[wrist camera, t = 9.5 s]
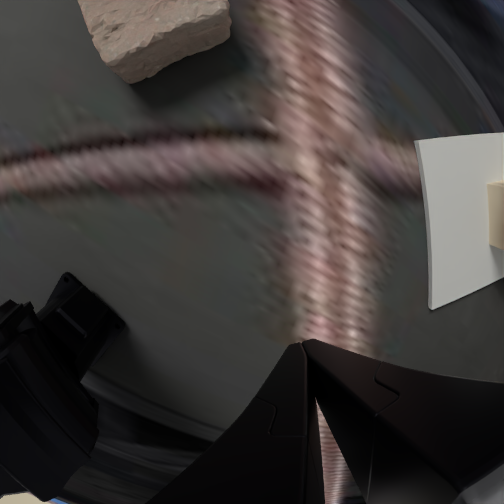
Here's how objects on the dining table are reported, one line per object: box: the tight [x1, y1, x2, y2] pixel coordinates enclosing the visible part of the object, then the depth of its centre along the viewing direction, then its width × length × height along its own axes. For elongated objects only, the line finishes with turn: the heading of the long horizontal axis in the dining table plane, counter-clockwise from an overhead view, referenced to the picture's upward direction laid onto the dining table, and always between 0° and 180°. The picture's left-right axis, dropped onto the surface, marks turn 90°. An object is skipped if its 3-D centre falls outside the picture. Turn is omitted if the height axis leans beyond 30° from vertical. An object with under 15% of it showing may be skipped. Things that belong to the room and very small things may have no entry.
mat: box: [414, 133, 504, 310], centre depth 20 cm, size 20×14×1 cm
